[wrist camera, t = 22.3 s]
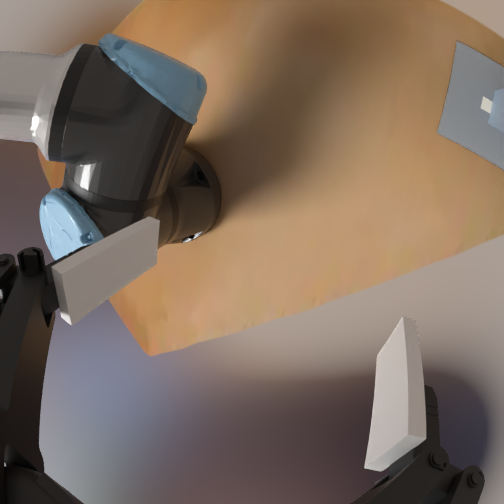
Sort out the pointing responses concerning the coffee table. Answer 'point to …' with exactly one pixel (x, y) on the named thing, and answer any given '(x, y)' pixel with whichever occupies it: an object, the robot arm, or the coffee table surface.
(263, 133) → the coffee table surface
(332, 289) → the coffee table surface
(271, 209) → the coffee table surface
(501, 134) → the letter card
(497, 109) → the block
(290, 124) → the coffee table surface
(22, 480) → the robot arm
